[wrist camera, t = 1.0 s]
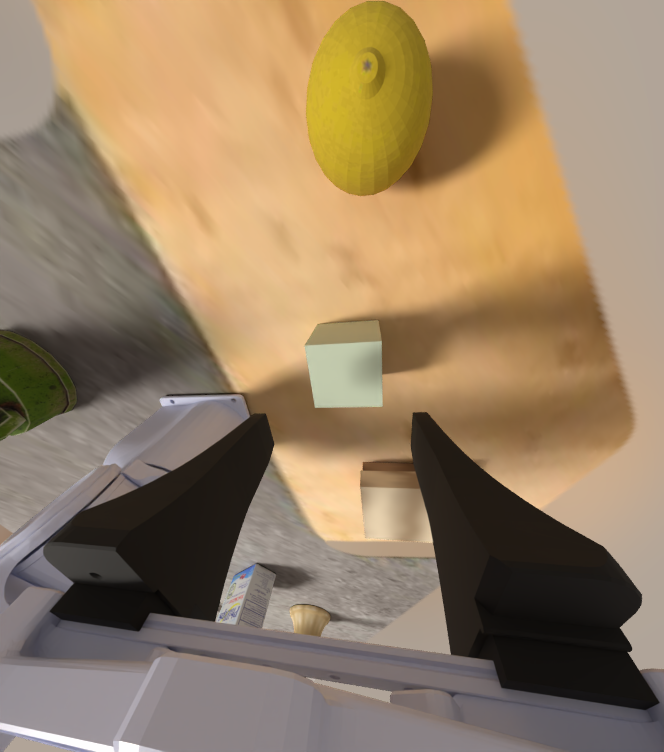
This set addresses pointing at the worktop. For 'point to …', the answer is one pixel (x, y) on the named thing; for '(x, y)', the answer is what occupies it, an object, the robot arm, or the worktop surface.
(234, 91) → the worktop surface
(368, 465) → the slab bottom
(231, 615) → the medicine box
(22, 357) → the lantern
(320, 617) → the hand bell
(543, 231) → the worktop surface
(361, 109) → the lemon
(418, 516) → the slab top
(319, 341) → the cube
